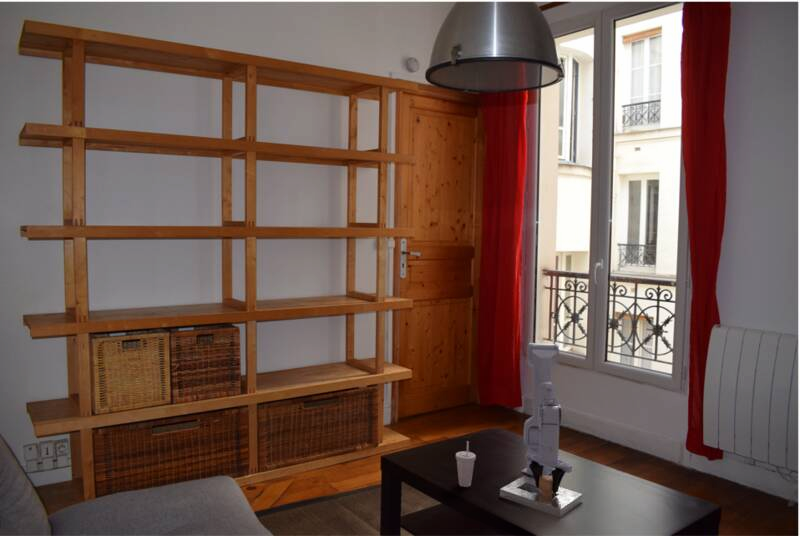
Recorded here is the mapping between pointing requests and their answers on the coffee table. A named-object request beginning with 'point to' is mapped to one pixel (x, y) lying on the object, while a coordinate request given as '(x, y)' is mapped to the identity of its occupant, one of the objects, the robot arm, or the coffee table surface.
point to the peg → (546, 485)
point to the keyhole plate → (540, 497)
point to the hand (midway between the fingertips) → (547, 489)
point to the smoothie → (465, 466)
